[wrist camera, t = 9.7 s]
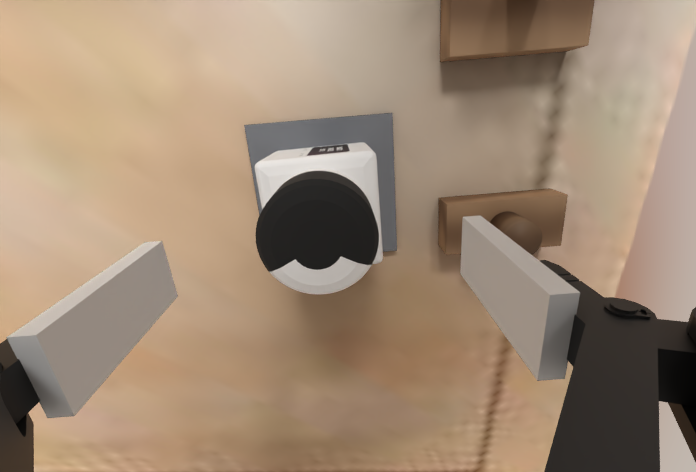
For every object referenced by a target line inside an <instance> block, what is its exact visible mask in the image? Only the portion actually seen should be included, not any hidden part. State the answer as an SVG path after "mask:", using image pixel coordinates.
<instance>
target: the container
mask: <svg viewBox="0 0 696 472" xmlns="http://www.w3.org/2000/svg"><path fill="white" fill-rule="evenodd" d="M255 173H256V179H257V184H258V190H259V195H260V201H261V206H262V211H261V214H260V216H259V218H258V222H257V227H256V244H257V249H258V252H259V255H260V258H261V260H262V262H263V264H264V265H265V267H266V268H267V270H268V271H269V272H270V273H271V274H272V275H273V276H274V277H275V278H276V279H277V280H278V281H279V282H281V283H282V284H284V285H286V286H287V287H289V288H291V289H294V290H296V291H299V292H302V293H308V294H318V295H319V294H330V293H335V292H338V291H341V290H343V289H346V288H348V287H350V286H351V285H353V284H354V283H356V282H357V281H358V280H360V279H361V278H362V277H363V276H364V275H365V274H366V272H367V271H368V270H369V268H370V267H371V265H372V264H378V263H381V261H382V260H383V248H382V233H381V218H380V203H379V188H378V173H377V158H376V154H375V152H374V151H373V150H372V149H371V148H370V147H369V146H368V145H367V144H366V143H364V142H360V143H350V144H340V145H330V146H320V147H310V148H300V149H290V150H280V151H276V152H274V153H273V154H271V155H269V156H267V157H266V158H264V159H262V160H260V161H259V162H257V163H256V164H255Z"/></svg>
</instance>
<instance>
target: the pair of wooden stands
mask: <svg viewBox="0 0 696 472" xmlns="http://www.w3.org/2000/svg"><path fill="white" fill-rule="evenodd" d="M593 6H594V0H441V30H440V62H444V61H456V60H468V59H480V58H492V57H504V56H516V55H528V54H540V53H552V52H564V51H569V50H573V49H577V48H580V47H584V46H587V45H588V43H589V36H590V28H591V21H592V14H593ZM567 196H568V195H567V194H564V193H561V192H558V191H555V190H553V189H540V190H528V191H516V192H504V193H491V194H479V195H467V196H455V197H443V198H439V230H438V245H439V246H440V247H441V249H442V250H443V251H444V253H445V254H446V255H450V254H461V245H462V221H463V217H467V216H479V215H480V216H482V217H483V218H484V219H486V220H487V221H488V222H490V223H491V224H492V225H493V226H495V227H496V228H497V229H499V230H500V231H501V232H503V233H504V234H505V235H506V236H508V237H509V238H510V239H512V240H513V241H514V242H515V243H517V244H518V245H519V246H521V247H522V248H523V249H525V250H526V251H527V252H528V253H530V254H531V255H532V254H534V253H535V252H536V251H537V250H538V248H539V247H547V246H560V245H561V240H562V233H563V225H564V218H565V211H566V203H567Z"/></svg>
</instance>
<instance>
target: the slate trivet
mask: <svg viewBox="0 0 696 472" xmlns="http://www.w3.org/2000/svg"><path fill="white" fill-rule="evenodd" d="M244 126H245V132H246V138H247V144H248V150H249V156H250V161H251V167H252V173H253V179H254V185H255V191H256V197H257V203H258V208H259V214H261V211H262V206H261V201H260V195H259V190H258V184H257V179H256V173H255V164H256V163H257V162H259V161H260V160H262V159H264V158H266V157H267V156H269V155H271V154H273V153H274V152H276V151H280V150H290V149H300V148H310V147H320V146H330V145H340V144H350V143H360V142H364V143H366V144H367V145H368V146H369V147H370V148H371V149H372V150H373V151H374V152H375V154H376V158H377V173H378V188H379V203H380V218H381V233H382V248H383V252H384V251H397V237H396V207H395V177H394V147H393V117H392V113H384V114H372V115H360V116H348V117H336V118H324V119H312V120H300V121H288V122H276V123H264V124H252V125H244Z"/></svg>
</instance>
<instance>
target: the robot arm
mask: <svg viewBox="0 0 696 472" xmlns="http://www.w3.org/2000/svg"><path fill="white" fill-rule="evenodd" d="M460 274H461V275H462V277H463V278H464V280H465V281H466V282H467V284H468V285H469V287H470V288H471V289H472V291H473V292H474V293H475V295H476V296H477V298H478V299H479V300H480V302H481V303H482V305H483V306H484V307H485V309H486V310H487V311H488V313H489V314H490V316H491V317H492V318H493V320H494V321H495V323H496V324H497V325H498V327H499V328H500V330H501V331H502V332H503V334H504V335H505V336H506V338H507V339H508V341H509V342H510V343H511V345H512V346H513V348H514V349H515V350H516V352H517V353H518V354H519V356H520V357H521V359H522V360H523V361H524V363H525V364H526V366H527V367H528V368H529V370H530V371H531V373H532V374H533V375H534V377H535V378H536V379H537V381H540V380H553V379H565V375H566V369H567V363H568V361H569V362H570V363H571V364H572V365H573V371H572V375H571V378H570V382H569V385H568V389H567V393H566V396H565V400H564V403H563V407H562V411H561V414H560V418H559V421H558V425H557V428H556V432H555V436H554V439H553V443H552V446H551V450H550V454H549V457H548V461H547V464H546V468H545V472H660V454H659V453H660V451H659V401H663V402H668V404H669V406H670V408H671V410H672V412H673V414H674V416H675V418H676V421H677V423H678V425H679V427H680V429H681V431H682V434H683V436H684V438H685V440H686V442H687V444H688V446H689V449H690V451H691V453H692V455H693V457H694V460H695V462H696V308H694V309H693V310H692V312H691V315H690V318H689V322H680V321H670V320H661V319H657V318H656V316H655V314H654V313H653V312H652V311H651V310H649V309H648V308H646V307H644V306H642V305H640V304H638V303H635V302H632V301H628V300H625V299H619V298H613V297H609V298H604V297H602V296H601V295H600V294H598V293H597V292H595V291H594V290H593V289H591V288H590V287H589V286H587V285H586V284H584V283H583V282H582V281H579V279H577V278H576V277H575V276H573V275H571V274H570V273H569V272H568V271H566V270H565V269H564V268H562V267H561V266H559V265H556V264H554V263H551V262H549V261H546V260H541V261H539V260H538V259H536V258H535V257H534V256H532V255H531V254H530V253H528V252H527V251H526V250H525V249H523V248H522V247H521V246H519V245H518V244H517V243H515V242H514V241H513V240H512V239H510V238H509V237H508V236H506V235H505V234H504V233H503V232H501V231H500V230H499V229H497V228H496V227H495V226H493V225H492V224H491V223H490V222H488V221H487V220H486V219H484V218H483V217H482V216H480V215H479V216H467V217H463V221H462V245H461V269H460ZM177 297H178V295H177V291H176V288H175V284H174V281H173V277H172V274H171V270H170V267H169V263H168V260H167V256H166V253H165V250H164V246H163V243H162V241H155V242H144V243H143V244H142V245H140V246H139V247H137V248H136V249H134V250H133V251H131V252H130V253H128V254H127V255H126V256H124V257H123V258H121V259H120V260H118V261H117V262H115V263H114V264H112V265H111V266H110V267H108V268H107V269H105V270H104V271H102V272H101V273H99V274H98V275H96V276H95V277H94V278H92V279H91V280H89V281H88V282H86V283H85V284H83V285H82V286H80V287H79V288H78V289H76V290H75V291H73V292H72V293H70V294H69V295H67V296H66V297H64V298H63V299H62V300H60V301H59V302H57V303H56V304H54V305H53V306H51V307H50V308H49V309H47V310H46V311H44V312H43V313H41V314H40V315H38V316H37V317H35V318H34V319H33V320H31V321H30V322H28V323H27V324H25V325H24V326H22V327H21V328H19V329H18V330H17V331H15V332H14V333H12V334H11V335H9V336H8V337H6V338H7V339H6V340H5V341H3V342H2V343H1V344H0V472H34V438H33V422H32V420H31V418H30V416H29V414H28V412H29V411H30V410H31V409H32V408H33V407H34V406H35V405H36V404H37V403H38V402H40V404H41V406H42V408H43V410H44V412H45V414H46V416H47V418H56V417H69V416H75V415H76V414H77V412H78V411H79V410H80V409H81V408H82V407H83V405H84V404H85V403H86V402H87V401H88V400H89V399H90V397H91V396H92V395H93V394H94V393H95V392H96V390H97V389H98V388H99V387H100V386H101V385H102V383H103V382H104V381H105V380H106V379H107V378H108V376H109V375H110V374H111V373H112V372H113V371H114V370H115V368H116V367H117V366H118V365H119V364H120V363H121V361H122V360H123V359H124V358H125V357H126V356H127V354H128V353H129V352H130V351H131V350H132V349H133V348H134V346H135V345H136V344H137V343H138V342H139V341H140V339H141V338H142V337H143V336H144V335H145V334H146V332H147V331H148V330H149V329H150V328H151V327H152V325H153V324H154V323H155V322H156V321H157V320H158V319H159V317H160V316H161V315H162V314H163V313H164V312H165V310H166V309H167V308H168V307H169V306H170V305H171V303H172V302H173V301H174V300H175V299H176V298H177Z"/></svg>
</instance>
